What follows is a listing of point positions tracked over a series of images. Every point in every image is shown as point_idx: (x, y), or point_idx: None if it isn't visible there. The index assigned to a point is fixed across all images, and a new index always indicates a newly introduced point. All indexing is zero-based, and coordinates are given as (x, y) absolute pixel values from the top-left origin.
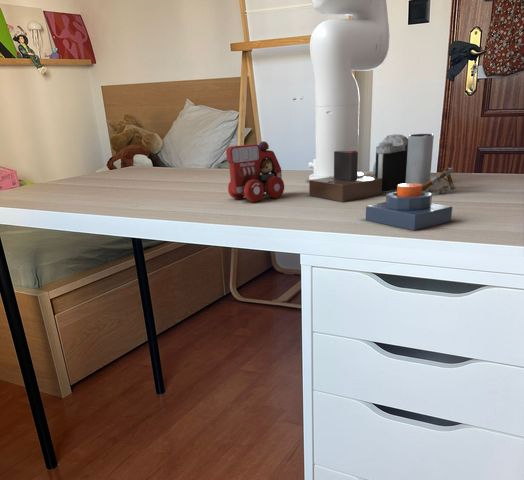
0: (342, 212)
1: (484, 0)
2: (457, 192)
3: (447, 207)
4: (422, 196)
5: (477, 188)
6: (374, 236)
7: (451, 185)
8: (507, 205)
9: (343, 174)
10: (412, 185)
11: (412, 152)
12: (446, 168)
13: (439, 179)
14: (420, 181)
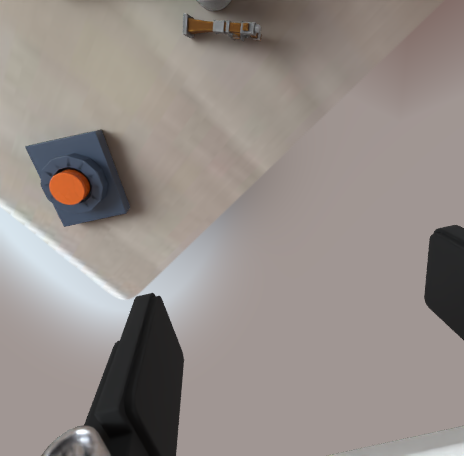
0: (17, 74)
1: (138, 296)
2: (262, 46)
3: (118, 214)
4: (80, 209)
5: (313, 36)
6: (20, 218)
7: (253, 39)
8: (243, 174)
9: None
10: (68, 194)
11: None
12: (245, 28)
13: (228, 33)
14: (204, 2)
